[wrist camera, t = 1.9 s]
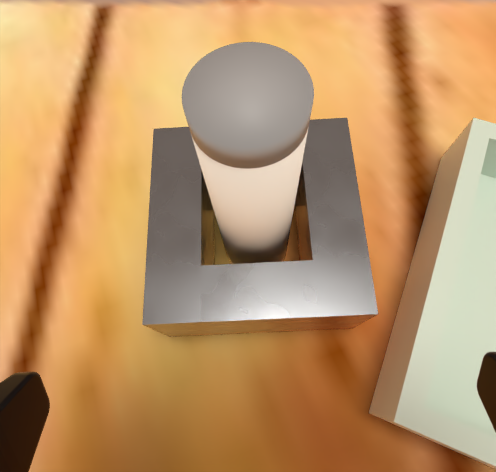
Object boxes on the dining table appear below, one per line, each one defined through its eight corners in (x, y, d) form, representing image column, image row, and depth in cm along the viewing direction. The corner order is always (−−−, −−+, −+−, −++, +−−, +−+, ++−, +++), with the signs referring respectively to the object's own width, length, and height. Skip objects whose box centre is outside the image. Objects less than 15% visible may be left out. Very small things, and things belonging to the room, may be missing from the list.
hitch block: (352, 328, 21) (378, 313, 16) (169, 336, 21) (142, 324, 16) (331, 168, 24) (346, 117, 19) (174, 176, 24) (153, 128, 20)
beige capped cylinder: (257, 288, 22) (249, 174, 9) (213, 247, 23) (154, 96, 10) (299, 244, 22) (341, 88, 10) (255, 207, 23) (245, 23, 11)
